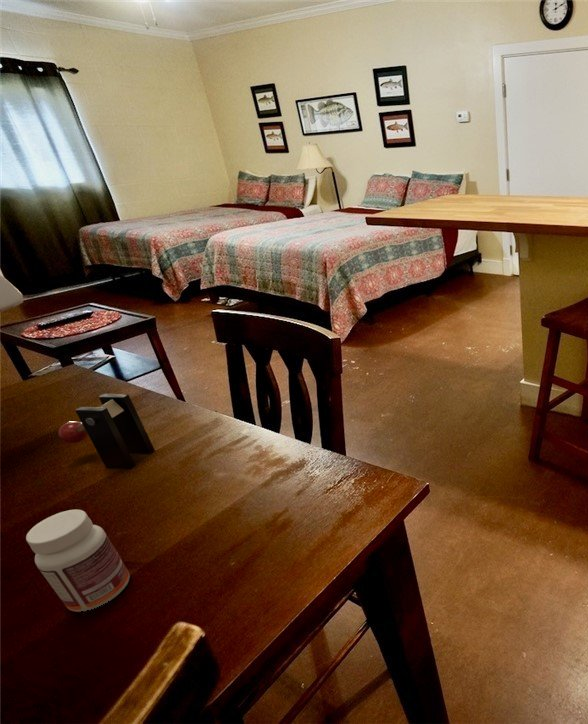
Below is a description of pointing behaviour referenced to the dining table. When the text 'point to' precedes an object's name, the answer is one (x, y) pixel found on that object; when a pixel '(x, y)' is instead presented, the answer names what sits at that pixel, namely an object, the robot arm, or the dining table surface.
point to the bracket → (116, 432)
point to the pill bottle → (77, 560)
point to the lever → (76, 430)
